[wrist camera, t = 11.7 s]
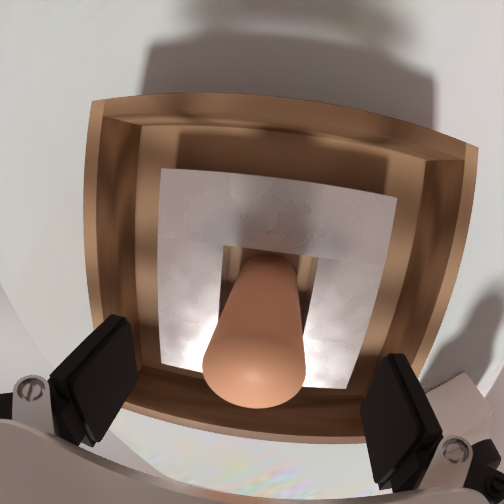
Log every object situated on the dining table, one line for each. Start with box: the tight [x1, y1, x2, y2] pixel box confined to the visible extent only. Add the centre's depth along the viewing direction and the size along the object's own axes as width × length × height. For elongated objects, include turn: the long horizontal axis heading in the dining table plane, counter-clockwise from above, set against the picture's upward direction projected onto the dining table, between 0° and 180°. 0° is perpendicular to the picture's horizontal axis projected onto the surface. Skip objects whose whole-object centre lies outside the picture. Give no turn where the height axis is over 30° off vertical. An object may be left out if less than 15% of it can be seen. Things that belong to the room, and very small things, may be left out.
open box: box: [83, 93, 478, 444], centre depth 18 cm, size 22×22×6 cm
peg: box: [202, 253, 306, 408], centre depth 15 cm, size 4×4×10 cm
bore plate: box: [157, 168, 397, 389], centre depth 19 cm, size 14×14×2 cm
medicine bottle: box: [425, 372, 501, 470], centre depth 17 cm, size 7×7×12 cm
